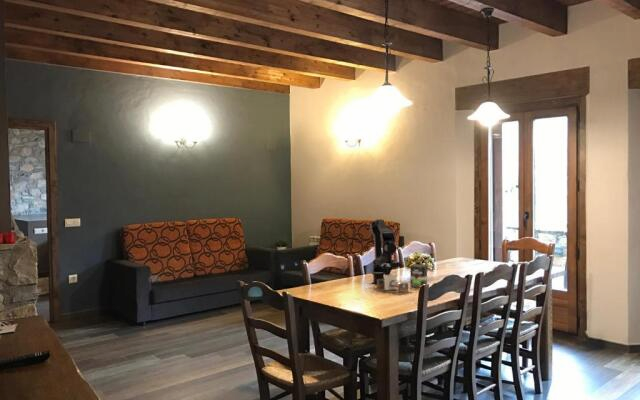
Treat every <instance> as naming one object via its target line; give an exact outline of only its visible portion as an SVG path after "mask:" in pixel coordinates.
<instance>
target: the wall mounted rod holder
mask: <svg viewBox="0 0 640 400" xmlns="http://www.w3.org/2000/svg"><path fill="white" fill-rule="evenodd" d="M383 279H384V280H385V277H384V278H383ZM381 280H382V279H377V284H376V287H374V288H373V290H374V291H378V292H384V293H387V294H392V295H395V296H396V295H397V296H404V295H409V293H410V294H412V293H413V292H412V291H409V283H408V282H403V283H402V282H400V284H399V288H396V289H393V290H385V285H384V284H381ZM403 284H404V285H405V284H406V287H403ZM404 288H405V289H404ZM396 291H399V292H396ZM392 292H395V293H392Z"/></svg>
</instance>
